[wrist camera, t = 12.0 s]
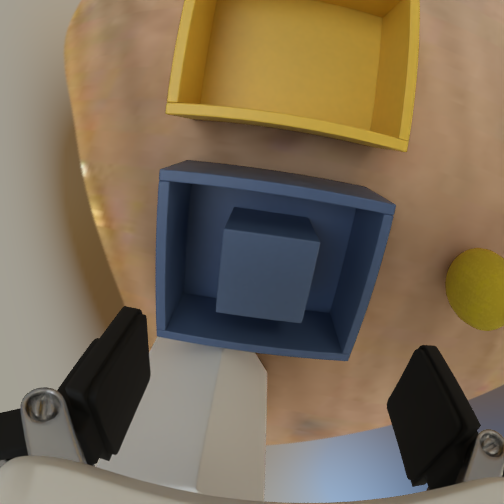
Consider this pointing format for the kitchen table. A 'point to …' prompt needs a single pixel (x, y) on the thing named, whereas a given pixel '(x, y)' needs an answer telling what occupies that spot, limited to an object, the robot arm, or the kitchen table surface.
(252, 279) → the blue block
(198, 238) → the blue bin
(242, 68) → the yellow bin
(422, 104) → the kitchen table surface
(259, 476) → the milk carton
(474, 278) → the lemon
